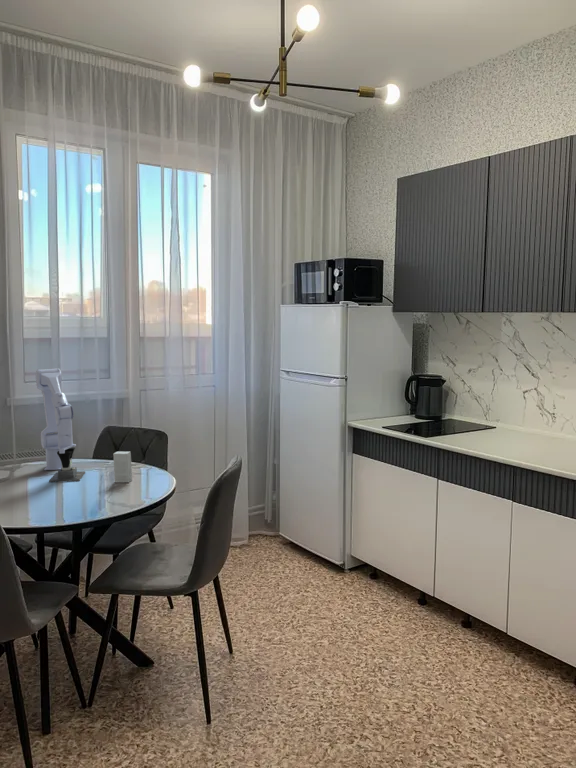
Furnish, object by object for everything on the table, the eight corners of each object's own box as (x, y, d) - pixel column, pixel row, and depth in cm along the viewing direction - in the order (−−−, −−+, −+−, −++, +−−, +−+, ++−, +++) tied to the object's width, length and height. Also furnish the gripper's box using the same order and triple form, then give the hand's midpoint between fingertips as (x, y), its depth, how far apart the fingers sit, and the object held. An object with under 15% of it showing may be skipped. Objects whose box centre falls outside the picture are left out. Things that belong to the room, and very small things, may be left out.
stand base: (56, 474, 263) (55, 465, 262) (85, 473, 264) (84, 464, 264) (49, 482, 251) (48, 472, 251) (79, 480, 253) (78, 471, 252)
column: (64, 474, 259) (63, 458, 258) (72, 474, 260) (71, 458, 259) (62, 476, 256) (61, 460, 255) (70, 476, 256) (70, 460, 255)
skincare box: (132, 479, 254) (131, 451, 252) (128, 482, 249) (127, 453, 248) (118, 479, 254) (116, 451, 253) (114, 482, 250) (112, 453, 248)
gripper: (71, 437, 249) (73, 470, 250) (78, 430, 263) (80, 461, 265) (53, 438, 248) (55, 471, 250) (61, 431, 262) (63, 462, 264)
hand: (67, 466), depth 257 cm, fingers closed on column, 3 cm apart
